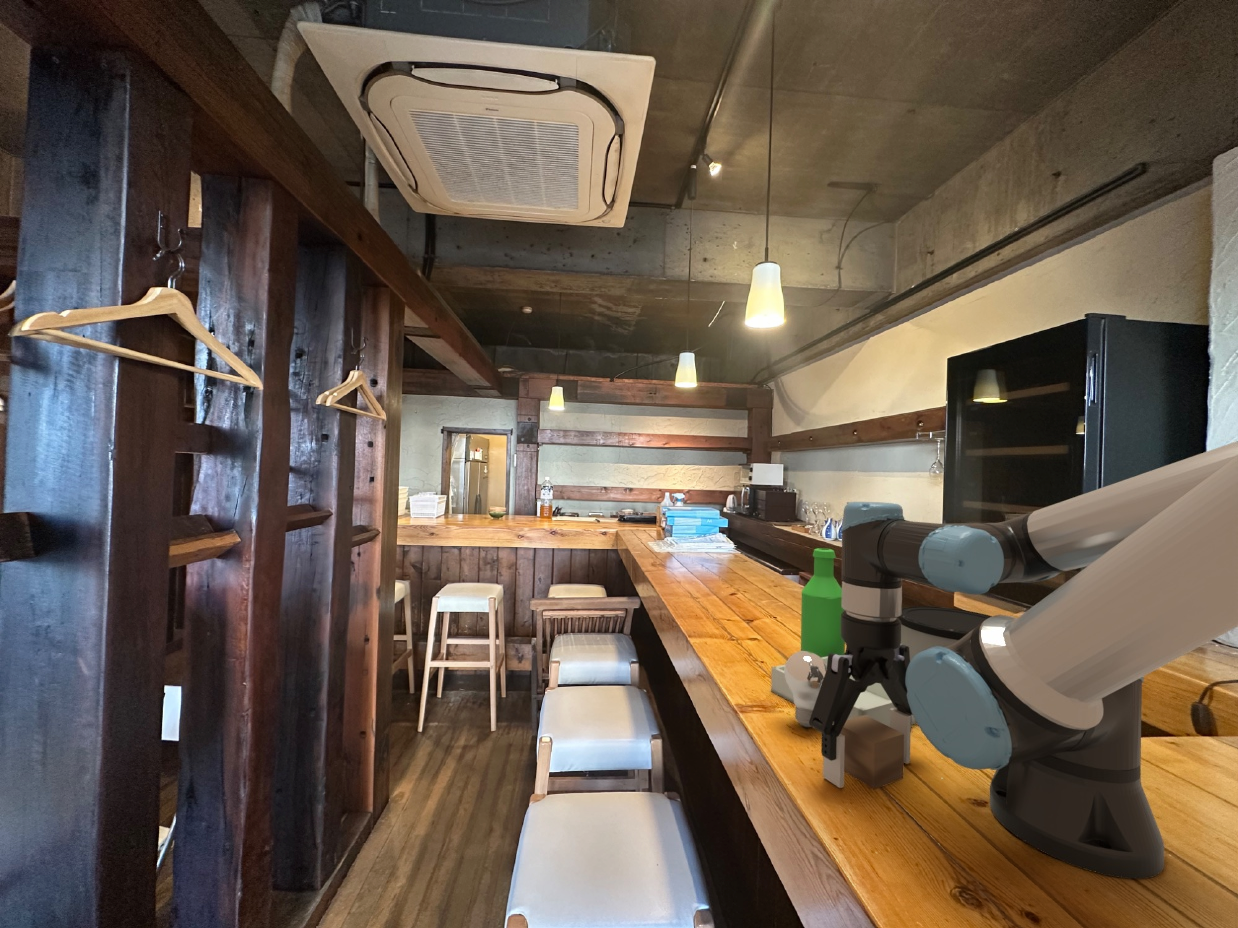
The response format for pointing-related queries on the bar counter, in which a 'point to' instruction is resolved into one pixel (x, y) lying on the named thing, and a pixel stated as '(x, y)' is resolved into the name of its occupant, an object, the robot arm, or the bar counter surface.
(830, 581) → the bottle
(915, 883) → the bar counter surface
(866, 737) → the walnut block
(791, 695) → the tray
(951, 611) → the container
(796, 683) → the light bulb
